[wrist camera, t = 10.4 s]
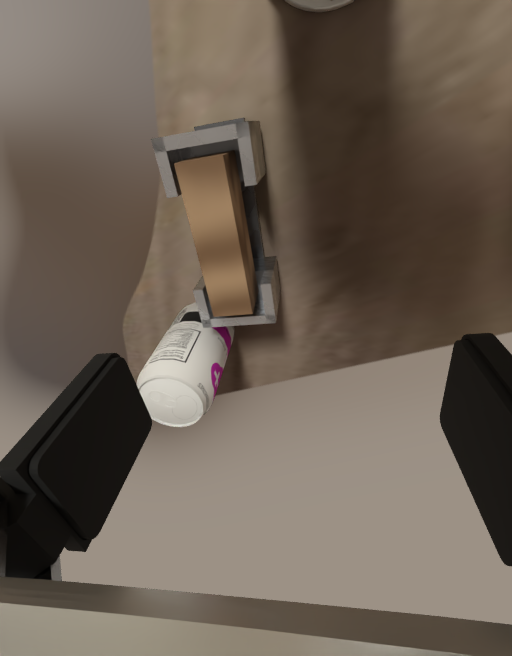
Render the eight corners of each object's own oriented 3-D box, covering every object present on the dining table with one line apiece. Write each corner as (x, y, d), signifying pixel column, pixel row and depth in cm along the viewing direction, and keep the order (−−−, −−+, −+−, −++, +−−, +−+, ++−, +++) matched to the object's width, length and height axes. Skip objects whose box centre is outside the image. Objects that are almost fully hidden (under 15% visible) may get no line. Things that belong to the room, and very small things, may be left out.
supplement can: (244, 315, 44) (220, 392, 31) (223, 357, 48) (194, 440, 36) (188, 290, 43) (140, 359, 30) (171, 335, 47) (123, 413, 35)
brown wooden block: (192, 157, 30) (174, 163, 26) (234, 150, 29) (222, 155, 25) (223, 294, 37) (213, 316, 33) (258, 291, 36) (252, 313, 32)
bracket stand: (182, 129, 33) (148, 132, 26) (259, 115, 32) (246, 113, 24) (220, 296, 43) (204, 331, 36) (281, 291, 41) (276, 327, 34)
